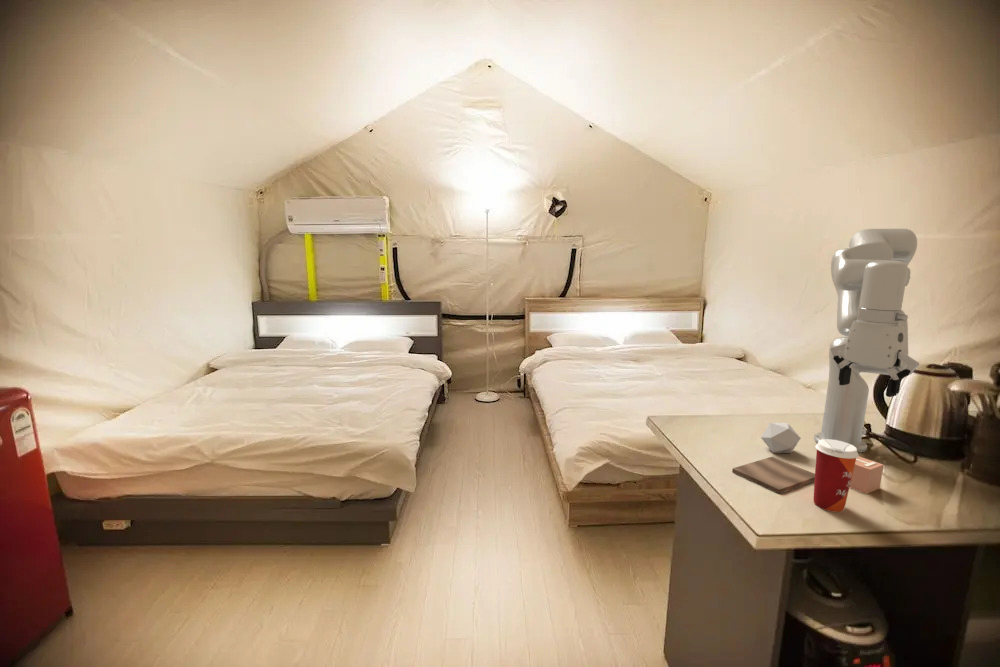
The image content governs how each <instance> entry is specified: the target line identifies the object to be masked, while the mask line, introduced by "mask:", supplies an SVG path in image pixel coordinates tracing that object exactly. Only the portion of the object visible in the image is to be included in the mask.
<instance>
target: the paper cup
mask: <svg viewBox="0 0 1000 667" xmlns="http://www.w3.org/2000/svg"><path fill="white" fill-rule="evenodd" d="M815 449H816V456H815V467H814V468H815V469H814V474H815V481H813V482H814V484H813V487H814V488H813V504H814V505H816V506H817V507H818V508H820V509H822V510H825V511H828V512H834V513H842V512H844V510H845V506H846V505H847V504H846V503H847V498H848V495H849V491H850V488H851V487H850V483H851V479H852V475H853V470H854V466H855V462H856V458H857V457H858V456H860V455H859V452H857V448H856V447H855V446H853V445H851V444H848V443H846V442H842V441H838V440H832V439H822V440H819V441H818V443H817V444H816V445H815Z"/></svg>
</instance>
